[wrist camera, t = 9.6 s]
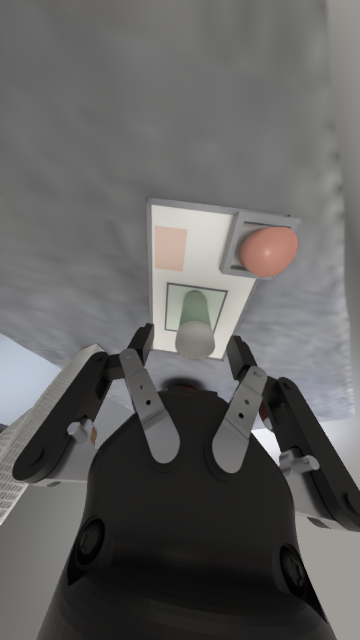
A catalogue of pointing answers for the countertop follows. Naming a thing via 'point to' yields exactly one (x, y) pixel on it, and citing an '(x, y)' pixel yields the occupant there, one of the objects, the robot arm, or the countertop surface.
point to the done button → (268, 250)
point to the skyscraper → (33, 429)
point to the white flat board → (201, 265)
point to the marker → (195, 328)
